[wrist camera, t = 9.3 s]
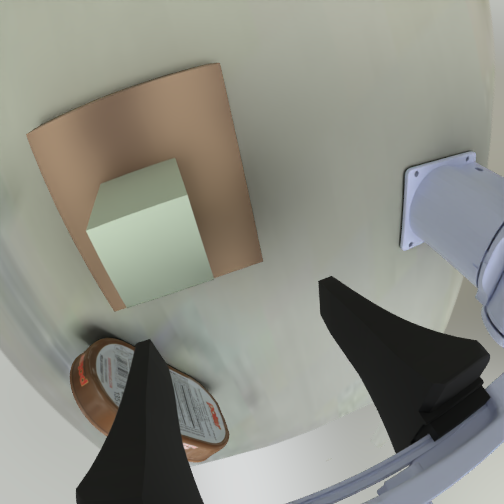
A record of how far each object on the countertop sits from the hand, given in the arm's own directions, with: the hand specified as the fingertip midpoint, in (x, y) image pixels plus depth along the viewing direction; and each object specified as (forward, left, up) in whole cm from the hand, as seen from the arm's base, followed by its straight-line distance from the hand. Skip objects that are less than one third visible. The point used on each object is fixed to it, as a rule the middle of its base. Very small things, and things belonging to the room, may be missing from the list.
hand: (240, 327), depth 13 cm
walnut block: (+2, -3, -10) cm, 11 cm away
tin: (+8, +12, -10) cm, 17 cm away
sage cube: (+2, -3, -7) cm, 8 cm away
